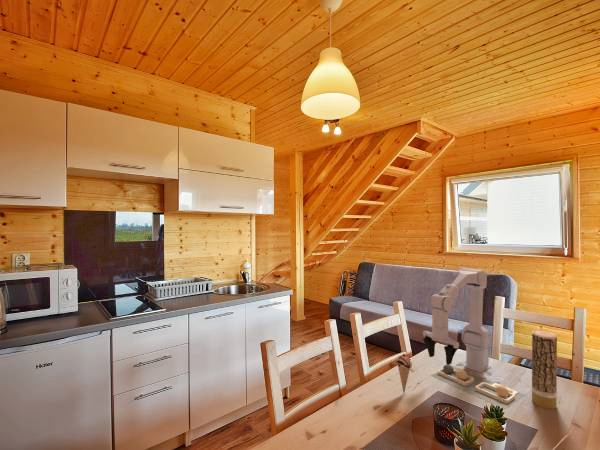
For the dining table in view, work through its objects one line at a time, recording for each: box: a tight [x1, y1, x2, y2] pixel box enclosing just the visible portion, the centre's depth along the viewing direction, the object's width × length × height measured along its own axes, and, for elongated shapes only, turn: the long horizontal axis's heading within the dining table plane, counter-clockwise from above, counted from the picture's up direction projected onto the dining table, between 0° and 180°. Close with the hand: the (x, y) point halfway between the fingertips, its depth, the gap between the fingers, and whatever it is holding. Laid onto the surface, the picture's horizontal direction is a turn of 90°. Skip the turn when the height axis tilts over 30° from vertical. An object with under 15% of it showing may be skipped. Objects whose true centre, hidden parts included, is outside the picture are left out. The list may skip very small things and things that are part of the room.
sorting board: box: [430, 365, 526, 410], centre depth 122 cm, size 16×28×2 cm, turn 34°
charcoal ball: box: [442, 363, 454, 375], centre depth 130 cm, size 4×4×4 cm
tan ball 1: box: [456, 368, 467, 380], centre depth 126 cm, size 4×4×4 cm
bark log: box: [531, 329, 558, 410], centre depth 109 cm, size 7×7×25 cm
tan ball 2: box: [496, 384, 509, 398], centre depth 113 cm, size 4×4×4 cm
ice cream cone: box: [395, 353, 413, 393], centre depth 117 cm, size 6×6×15 cm
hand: (440, 360), depth 122 cm, fingers open, 7 cm apart
